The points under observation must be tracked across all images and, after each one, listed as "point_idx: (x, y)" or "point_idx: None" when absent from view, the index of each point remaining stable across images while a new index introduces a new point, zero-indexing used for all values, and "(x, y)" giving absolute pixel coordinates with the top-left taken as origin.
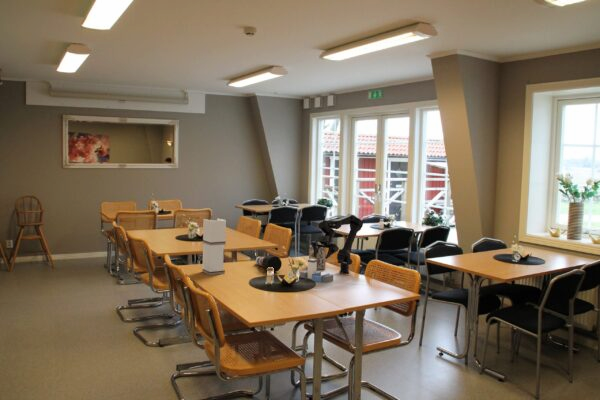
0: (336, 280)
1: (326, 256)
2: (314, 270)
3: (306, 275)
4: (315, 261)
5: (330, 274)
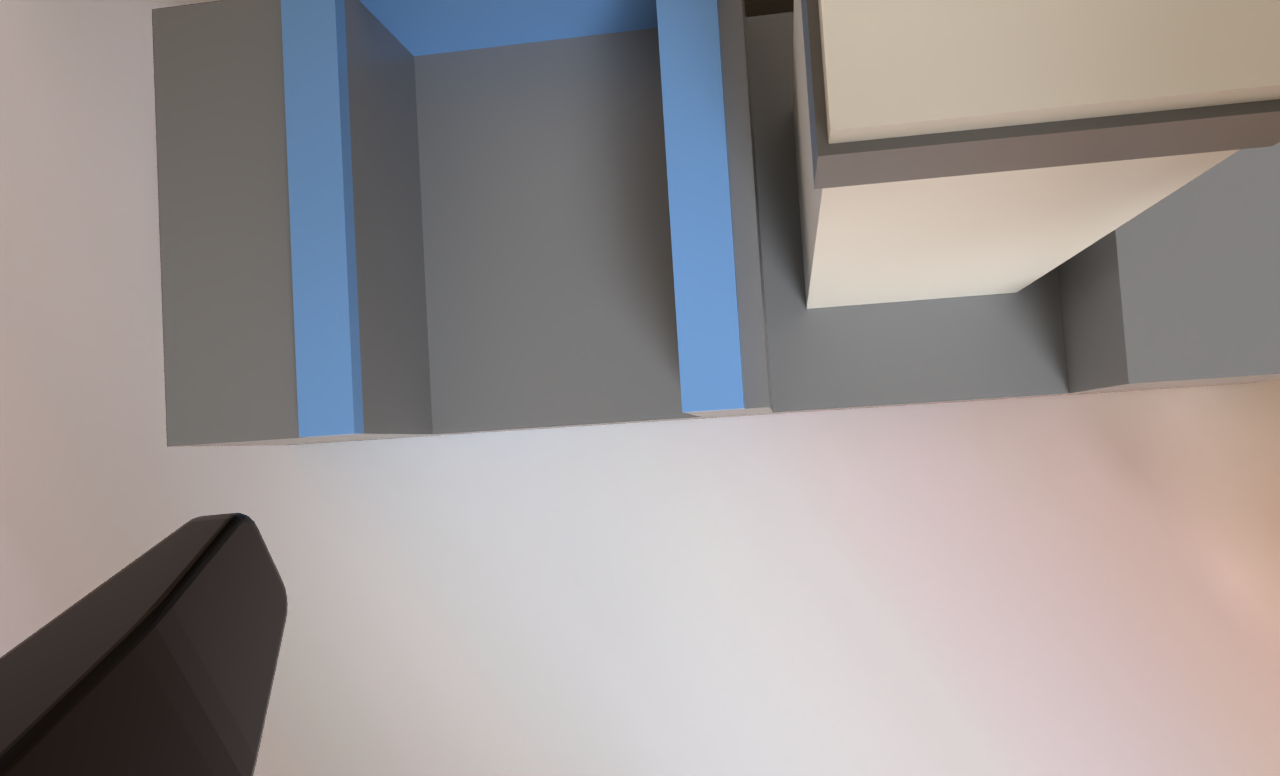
0: (336, 685)
1: (135, 601)
2: (800, 116)
3: None
4: (805, 1)
5: (268, 424)
